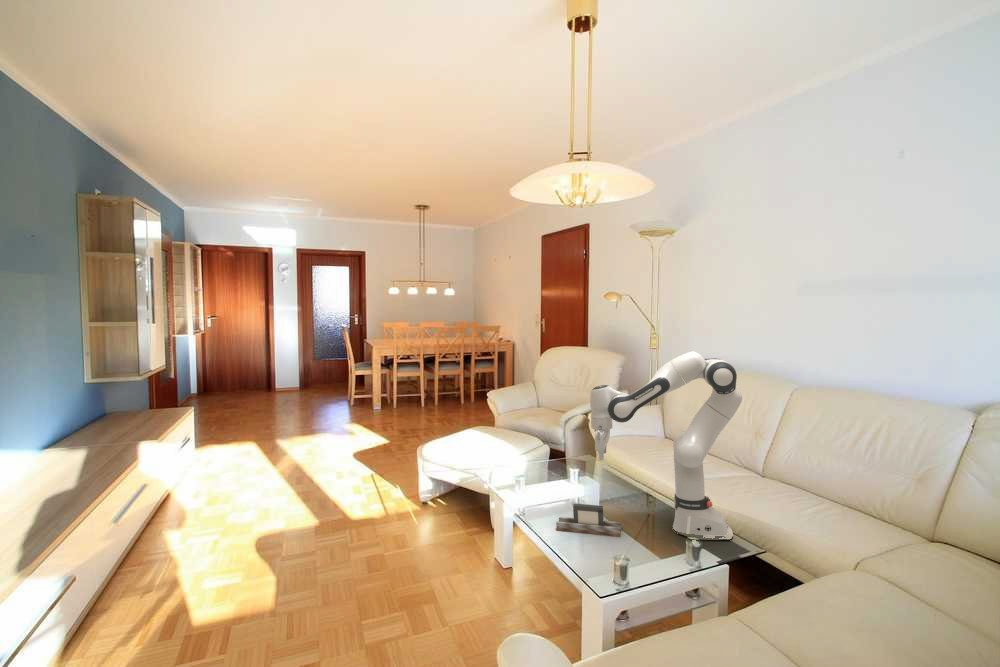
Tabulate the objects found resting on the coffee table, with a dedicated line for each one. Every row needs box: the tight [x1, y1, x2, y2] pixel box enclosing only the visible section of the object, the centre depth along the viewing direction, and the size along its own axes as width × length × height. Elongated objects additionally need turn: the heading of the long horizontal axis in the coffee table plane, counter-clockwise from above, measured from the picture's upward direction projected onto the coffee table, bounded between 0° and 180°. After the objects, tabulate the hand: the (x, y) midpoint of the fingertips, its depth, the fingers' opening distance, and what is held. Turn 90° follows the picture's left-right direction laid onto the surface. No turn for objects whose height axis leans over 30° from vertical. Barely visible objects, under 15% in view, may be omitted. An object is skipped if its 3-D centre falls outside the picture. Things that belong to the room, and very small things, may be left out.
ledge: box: [555, 516, 623, 538], centre depth 201 cm, size 26×8×3 cm, turn 71°
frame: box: [572, 503, 605, 526], centre depth 201 cm, size 12×2×9 cm, turn 71°
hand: (602, 456), depth 205 cm, fingers open, 8 cm apart
